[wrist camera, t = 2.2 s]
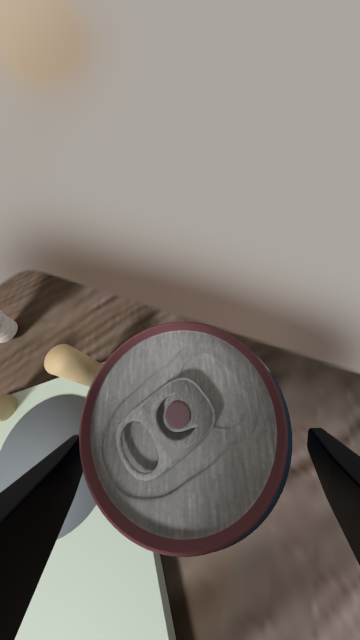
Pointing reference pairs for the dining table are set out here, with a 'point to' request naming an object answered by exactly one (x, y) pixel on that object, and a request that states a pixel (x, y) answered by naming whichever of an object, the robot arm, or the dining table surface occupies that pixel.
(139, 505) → the soda can
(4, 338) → the lightbulb
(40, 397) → the board
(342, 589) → the dining table surface
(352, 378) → the dining table surface
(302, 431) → the dining table surface
